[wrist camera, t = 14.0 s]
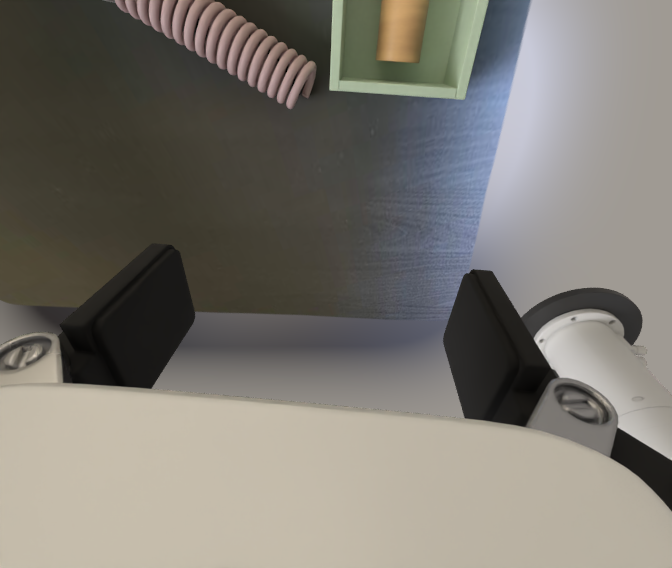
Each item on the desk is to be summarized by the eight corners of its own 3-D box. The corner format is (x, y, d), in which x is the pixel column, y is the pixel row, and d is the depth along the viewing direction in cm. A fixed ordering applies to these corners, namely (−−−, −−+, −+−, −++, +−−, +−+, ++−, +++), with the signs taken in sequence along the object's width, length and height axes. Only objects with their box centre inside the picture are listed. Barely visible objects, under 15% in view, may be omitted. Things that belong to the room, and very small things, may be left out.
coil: (102, 7, 28) (295, 120, 32) (104, -64, 25) (315, 69, 29) (135, 8, 31) (304, 108, 35) (139, -55, 28) (323, 63, 32)
